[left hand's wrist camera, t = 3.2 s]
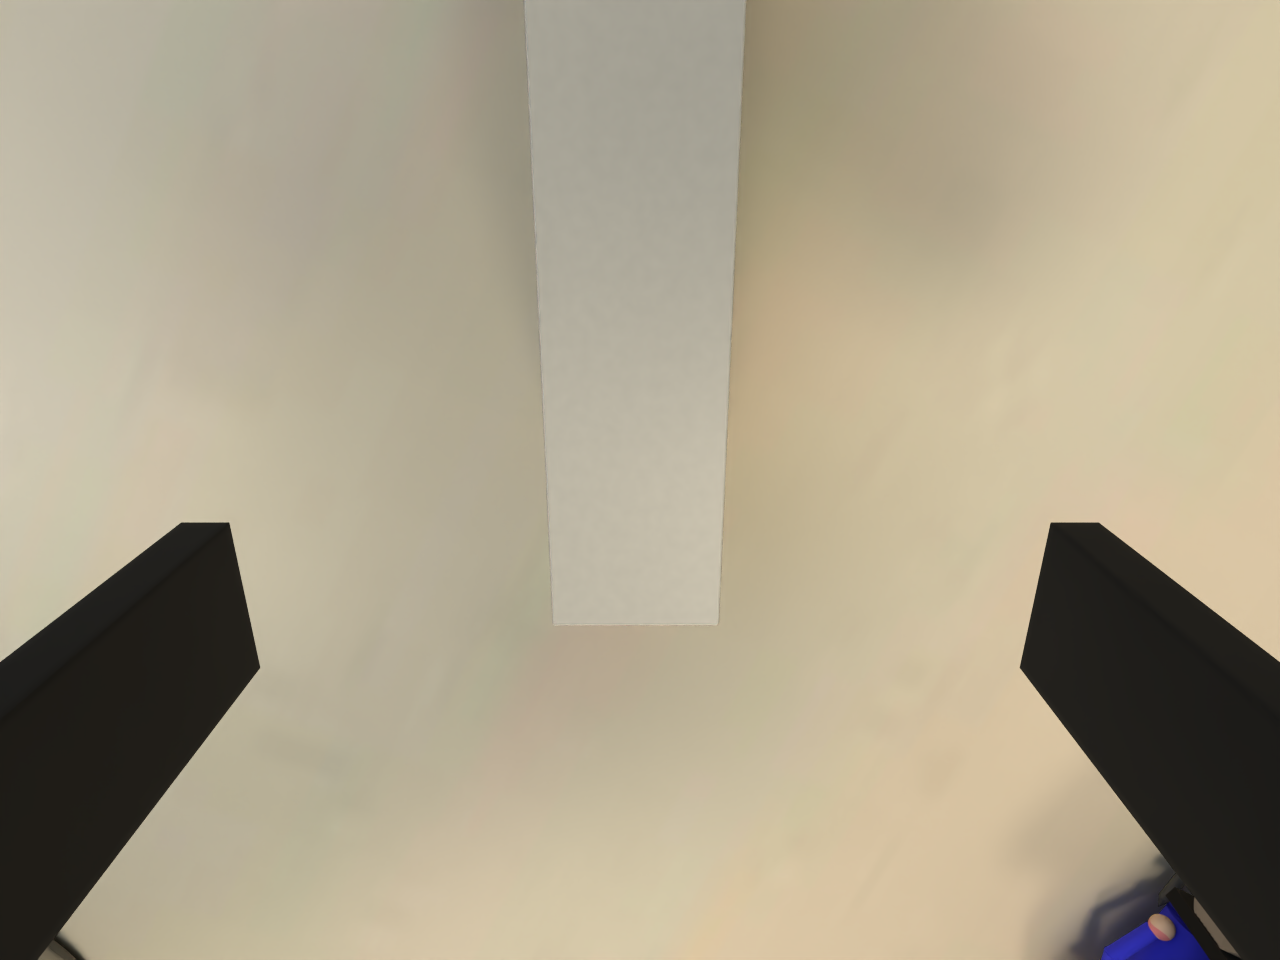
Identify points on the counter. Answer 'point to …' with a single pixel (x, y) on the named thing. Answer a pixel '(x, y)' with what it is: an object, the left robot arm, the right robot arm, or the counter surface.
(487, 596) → the counter surface
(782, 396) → the counter surface
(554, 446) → the post
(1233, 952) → the black wheeled rover
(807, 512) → the counter surface
